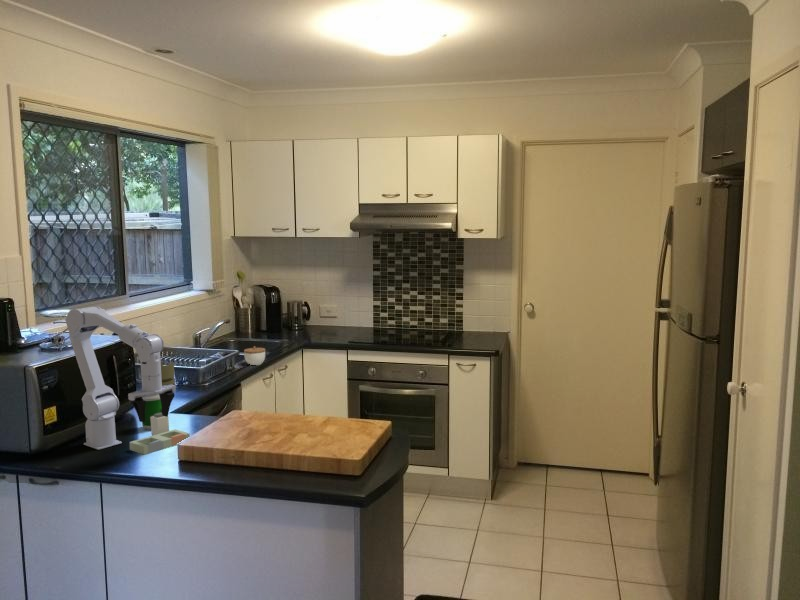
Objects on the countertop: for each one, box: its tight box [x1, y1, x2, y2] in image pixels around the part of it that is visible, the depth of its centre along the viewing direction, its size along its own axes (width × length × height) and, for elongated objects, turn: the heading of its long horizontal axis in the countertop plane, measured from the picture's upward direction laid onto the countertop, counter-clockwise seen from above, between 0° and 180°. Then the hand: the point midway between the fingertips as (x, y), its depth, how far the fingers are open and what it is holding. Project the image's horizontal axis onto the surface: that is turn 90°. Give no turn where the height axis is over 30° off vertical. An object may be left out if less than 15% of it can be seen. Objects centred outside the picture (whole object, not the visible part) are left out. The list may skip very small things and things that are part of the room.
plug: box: [150, 413, 170, 436], centre depth 219 cm, size 4×4×8 cm
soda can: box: [141, 394, 162, 431], centre depth 230 cm, size 8×8×12 cm
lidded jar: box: [243, 345, 266, 366], centre depth 339 cm, size 11×11×9 cm
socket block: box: [129, 429, 191, 455], centre depth 210 cm, size 8×16×3 cm, turn 141°
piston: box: [161, 361, 176, 393], centre depth 284 cm, size 11×12×11 cm
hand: (153, 418), depth 205 cm, fingers open, 7 cm apart
